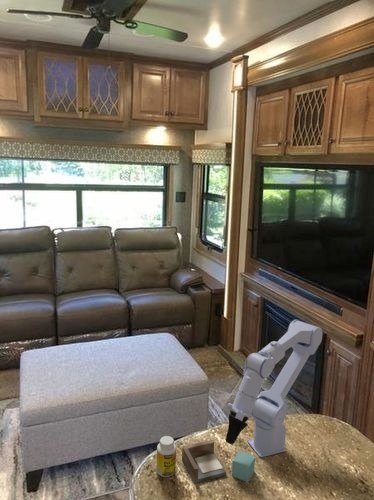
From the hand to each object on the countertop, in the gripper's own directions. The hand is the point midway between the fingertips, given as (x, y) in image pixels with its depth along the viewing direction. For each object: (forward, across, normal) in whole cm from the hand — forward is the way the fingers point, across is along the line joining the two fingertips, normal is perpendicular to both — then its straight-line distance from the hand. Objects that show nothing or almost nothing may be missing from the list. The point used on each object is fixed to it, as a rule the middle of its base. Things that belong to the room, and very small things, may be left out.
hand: (229, 440), depth 119 cm
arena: (+11, -6, -4) cm, 13 cm away
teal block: (+8, -6, +7) cm, 12 cm away
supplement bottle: (+16, -2, -14) cm, 21 cm away
